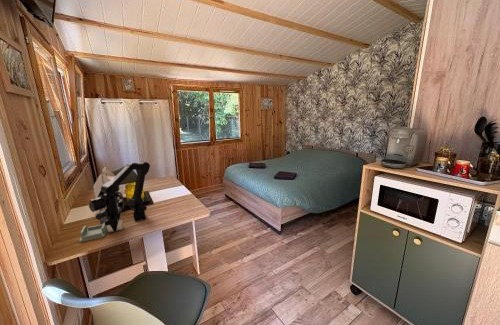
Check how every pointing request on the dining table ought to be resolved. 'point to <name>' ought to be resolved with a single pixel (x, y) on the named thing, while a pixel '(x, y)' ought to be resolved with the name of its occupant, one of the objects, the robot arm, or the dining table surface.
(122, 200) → the french press
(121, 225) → the roll
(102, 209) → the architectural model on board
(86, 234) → the holder
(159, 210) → the dining table surface
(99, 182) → the gable box
